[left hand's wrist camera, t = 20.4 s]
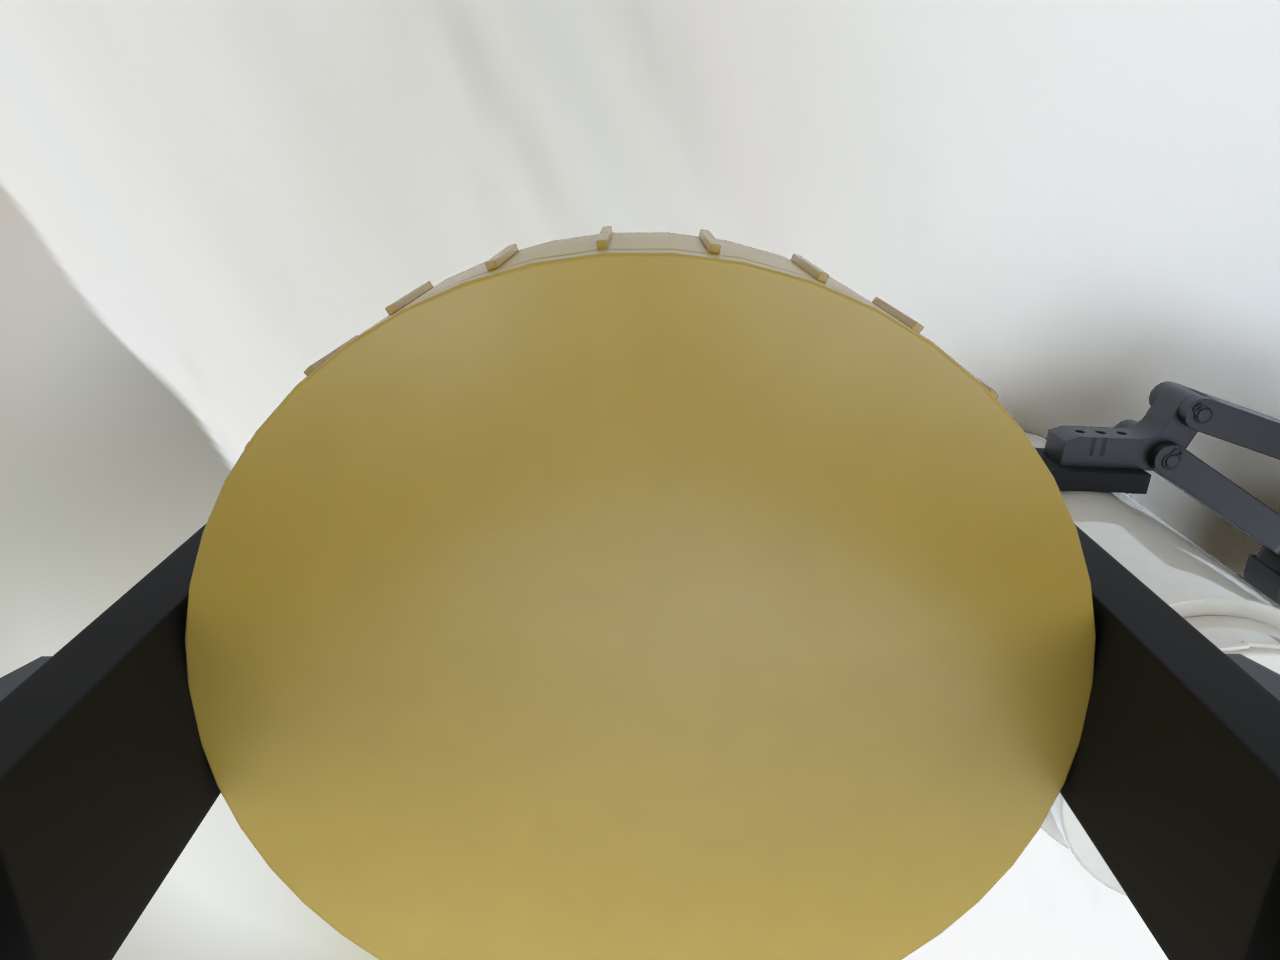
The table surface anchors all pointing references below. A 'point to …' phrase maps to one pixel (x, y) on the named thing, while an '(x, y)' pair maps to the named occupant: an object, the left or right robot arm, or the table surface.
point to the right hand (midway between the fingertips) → (938, 587)
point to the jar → (1186, 585)
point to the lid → (640, 619)
